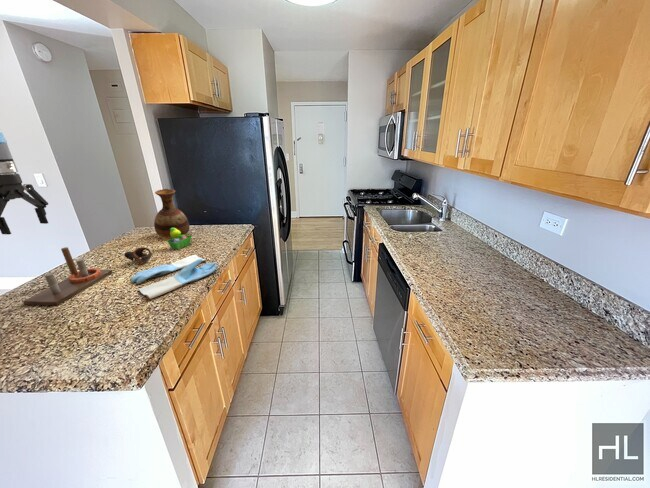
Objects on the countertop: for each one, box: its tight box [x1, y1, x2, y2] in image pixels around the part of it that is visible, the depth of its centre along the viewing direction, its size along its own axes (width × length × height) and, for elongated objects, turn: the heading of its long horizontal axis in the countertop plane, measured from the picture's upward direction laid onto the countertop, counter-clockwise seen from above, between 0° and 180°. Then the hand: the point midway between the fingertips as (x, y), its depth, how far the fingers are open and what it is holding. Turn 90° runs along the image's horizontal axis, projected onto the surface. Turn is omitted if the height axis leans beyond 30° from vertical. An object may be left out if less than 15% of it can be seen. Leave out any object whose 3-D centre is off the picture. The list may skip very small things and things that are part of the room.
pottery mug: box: [123, 246, 154, 266], centre depth 132 cm, size 12×10×8 cm
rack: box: [22, 258, 113, 306], centre depth 108 cm, size 13×26×10 cm, turn 178°
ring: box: [60, 246, 102, 282], centre depth 113 cm, size 11×11×14 cm
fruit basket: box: [166, 228, 192, 250], centre depth 150 cm, size 11×9×11 cm
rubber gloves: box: [129, 254, 219, 300], centre depth 119 cm, size 27×33×6 cm
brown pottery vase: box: [153, 188, 190, 238], centre depth 165 cm, size 20×20×30 cm
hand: (26, 228), depth 103 cm, fingers open, 13 cm apart
